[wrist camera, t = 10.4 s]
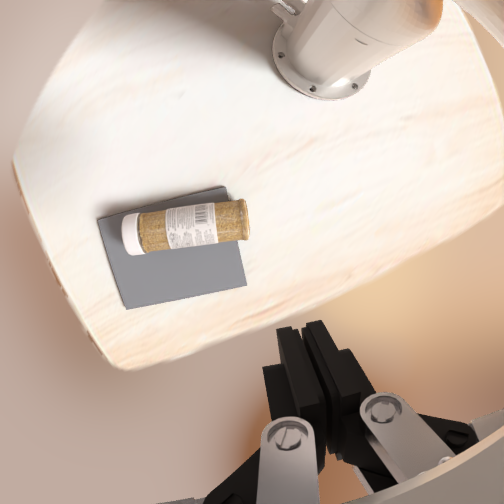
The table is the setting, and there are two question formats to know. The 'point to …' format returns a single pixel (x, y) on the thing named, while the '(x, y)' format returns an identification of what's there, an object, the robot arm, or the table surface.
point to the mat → (172, 261)
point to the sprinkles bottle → (185, 227)
